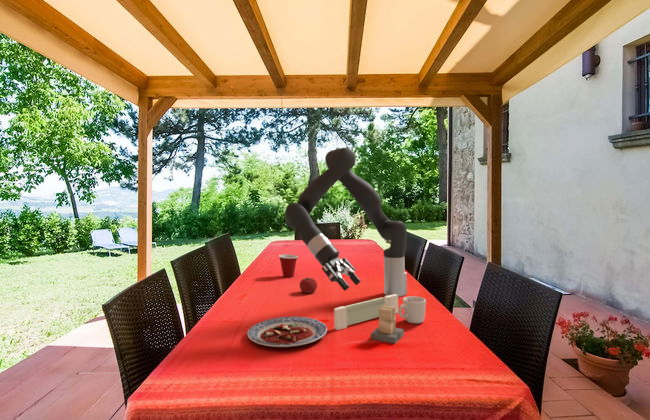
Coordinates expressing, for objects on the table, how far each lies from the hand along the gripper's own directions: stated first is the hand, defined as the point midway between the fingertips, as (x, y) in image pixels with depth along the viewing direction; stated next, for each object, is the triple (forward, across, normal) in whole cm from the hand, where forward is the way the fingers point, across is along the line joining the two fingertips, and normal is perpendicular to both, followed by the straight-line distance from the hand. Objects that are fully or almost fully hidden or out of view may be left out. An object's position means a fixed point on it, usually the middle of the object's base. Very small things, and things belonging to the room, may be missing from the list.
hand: (353, 286), depth 124 cm
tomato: (-18, +34, +39) cm, 55 cm away
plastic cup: (-37, +57, +59) cm, 90 cm away
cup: (+21, +17, 0) cm, 27 cm away
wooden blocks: (+11, +12, +10) cm, 19 cm away
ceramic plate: (-1, -14, +23) cm, 27 cm away
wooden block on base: (+19, 0, +2) cm, 19 cm away
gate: (+10, +10, +10) cm, 18 cm away
